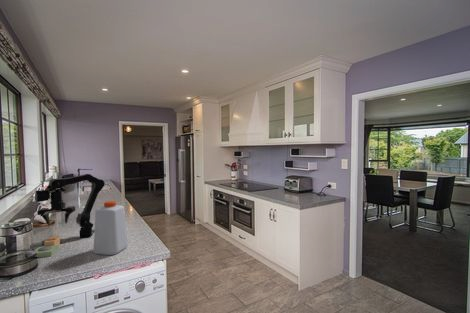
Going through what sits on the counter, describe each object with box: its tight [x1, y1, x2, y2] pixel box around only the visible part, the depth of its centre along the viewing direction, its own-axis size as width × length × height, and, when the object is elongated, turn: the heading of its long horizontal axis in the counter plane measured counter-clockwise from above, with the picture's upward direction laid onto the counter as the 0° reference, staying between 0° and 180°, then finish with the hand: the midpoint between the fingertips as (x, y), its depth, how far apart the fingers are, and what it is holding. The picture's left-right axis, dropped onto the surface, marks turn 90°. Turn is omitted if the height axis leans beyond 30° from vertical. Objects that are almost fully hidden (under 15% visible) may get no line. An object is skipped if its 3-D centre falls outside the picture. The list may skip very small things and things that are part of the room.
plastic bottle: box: [93, 200, 129, 256], centre depth 147 cm, size 15×15×28 cm
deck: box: [33, 238, 66, 258], centre depth 148 cm, size 13×21×3 cm, turn 15°
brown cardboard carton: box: [43, 234, 61, 246], centre depth 152 cm, size 5×8×6 cm, turn 15°
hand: (57, 224), depth 158 cm, fingers open, 9 cm apart
